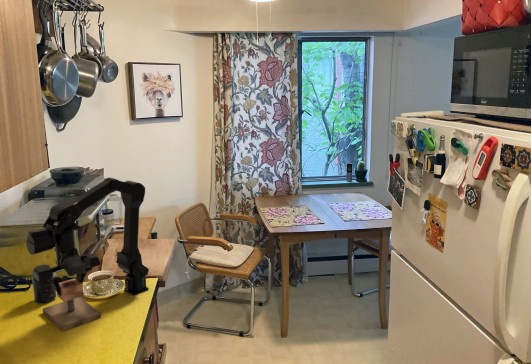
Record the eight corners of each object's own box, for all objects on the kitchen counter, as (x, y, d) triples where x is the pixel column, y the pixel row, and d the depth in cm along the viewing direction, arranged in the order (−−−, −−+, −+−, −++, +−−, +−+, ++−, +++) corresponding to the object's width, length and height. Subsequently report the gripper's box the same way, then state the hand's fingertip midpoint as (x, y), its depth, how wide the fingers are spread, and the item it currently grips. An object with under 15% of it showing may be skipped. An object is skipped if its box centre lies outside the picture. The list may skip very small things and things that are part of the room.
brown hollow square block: (75, 289, 146) (74, 278, 145) (83, 295, 142) (82, 284, 141) (56, 295, 142) (55, 283, 141) (64, 301, 138) (63, 289, 137)
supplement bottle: (30, 301, 152) (26, 268, 150) (47, 293, 158) (44, 261, 156) (43, 306, 149) (39, 272, 147) (61, 297, 155) (57, 265, 153)
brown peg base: (79, 300, 153) (78, 282, 152) (101, 317, 142) (99, 298, 141) (42, 312, 145) (40, 294, 144) (62, 331, 134) (60, 311, 132)
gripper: (43, 260, 127) (48, 311, 130) (106, 244, 140) (109, 290, 143) (29, 250, 134) (35, 298, 138) (90, 236, 147) (94, 280, 150)
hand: (69, 292), depth 142 cm, fingers closed on brown hollow square block, 6 cm apart
